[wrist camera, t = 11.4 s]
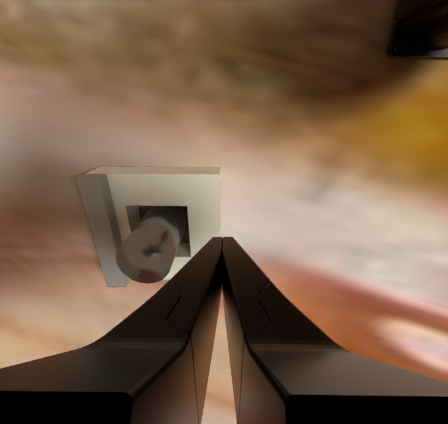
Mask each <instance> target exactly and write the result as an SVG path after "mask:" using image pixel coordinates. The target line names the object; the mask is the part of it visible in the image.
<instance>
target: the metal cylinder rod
mask: <svg viewBox="0 0 448 424" xmlns="http://www.w3.org/2000/svg"><path fill="white" fill-rule="evenodd" d="M186 225H187V216H186V213H185V211H184V210H183V209H182V208H181V207H180V206H152V207H151V208H150V209H149V211H148V212H147V213H146V214H145V216H144V217H143V218H142V219H141V221H140V222H139V223H138V224H137V226H136V227H135V228H134V229H133V231H132V232H131V233H130V234H129V236H128V237H127V238H126V239H125V241H124V242H123V243H122V244H121V246H120V247H119V248H118V250H117V253H116V262H117V265H118V267H119V269H120V270H121V271H122V272H123V273H124V274H125V275H126V276H127V277H129V278H130V279H132V280H134V281H137V282H141V283H155V282H158V281H160V280H162V279H164V278H165V277H166V276H167V275H168V273H169V272H170V269H171V266H172V264H173V261H174V258H175V255H176V253H177V250H178V247H179V244H180V242H181V239H182V236H183V233H184V231H185V228H186Z"/></svg>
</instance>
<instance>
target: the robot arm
mask: <svg viewBox="0 0 448 424" xmlns="http://www.w3.org/2000/svg"><path fill="white" fill-rule="evenodd" d="M394 20H395V23H394V27H393V30H392V34H391V38H390V42H389V46H388V50H387V54H388V56H389V57H391V58H448V0H399V1H398V5H397V8H396V12H395V16H394ZM395 46H398V51H397V52H395ZM221 292H222V293H223V303H224V312H225V321H226V330H227V339H228V348H229V357H230V366H231V375H232V383H233V392H234V401H235V410H236V419H237V424H448V382H447V381H443V380H440V379H436V378H433V377H430V376H427V375H424V374H420V373H417V372H414V371H411V370H408V369H404V368H401V367H398V366H395V365H391V364H388V363H385V362H382V361H379V360H375V359H372V358H369V357H366V356H363V355H359V354H356V353H354V352H351V351H349V350H347V349H345V348H344V347H342V346H340V345H339V344H337V343H336V342H335V341H333V340H332V339H331V338H330V337H329V336H328V335H326V334H325V333H324V332H323V331H322V330H321V329H320V328H319V327H318V326H317V325H315V324H314V323H313V322H312V321H311V320H310V319H309V318H308V317H307V316H305V315H304V314H303V313H302V312H301V311H300V310H299V309H298V308H297V307H296V306H295V305H294V304H292V303H291V302H290V301H289V300H288V299H287V298H286V297H285V296H284V295H283V294H282V293H281V291H280V290H279V289H278V288H277V287H276V286H275V285H274V284H273V283H272V281H270V279H269V278H268V277H267V276H266V275H265V274H264V272H263V271H262V270H261V269H260V268H259V267H258V265H257V264H256V263H255V262H254V261H253V260H252V259H251V257H250V256H249V255H248V254H247V253H246V252H245V251H244V249H243V248H242V247H241V246H240V245H239V244H238V243H237V241H236V240H235V239H234V238H233V237H223V238H222V237H212V238H211V239H210V240H209V241H208V242H207V243H206V244H205V245H204V246H203V247H202V248H201V249H200V250H199V251H198V252H197V253H196V254H195V255H194V256H193V257H192V258H191V259H190V260H189V261H188V262H187V263H186V264H185V265H184V266H183V267H182V268H181V269H180V270H179V271H178V272H177V273H176V274H175V275H174V276H173V277H172V278H171V280H169V281H168V282H167V283H166V284H165V285H164V286H163V287H162V288H161V289H160V290H159V291H158V292H157V293H156V294H154V295H153V296H152V297H151V298H150V299H149V300H147V301H146V302H145V303H144V304H143V305H142V306H140V307H139V308H138V309H137V310H135V311H134V312H133V313H132V314H130V315H129V316H128V317H127V318H125V319H124V320H123V321H122V322H120V323H119V324H118V325H117V326H116V327H114V328H113V329H112V330H111V331H109V332H108V333H107V334H105V335H104V336H103V337H101V338H100V339H98V340H97V341H95V342H93V343H91V344H89V345H87V346H85V347H82V348H79V349H76V350H72V351H68V352H64V353H60V354H56V355H52V356H48V357H44V358H40V359H37V360H33V361H29V362H25V363H21V364H17V365H13V366H9V367H5V368H1V369H0V424H201V420H202V414H203V408H204V401H205V395H206V388H207V382H208V376H209V369H210V363H211V357H212V350H213V344H214V337H215V331H216V325H217V318H218V312H219V306H220V299H221Z"/></svg>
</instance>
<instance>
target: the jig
mask: <svg viewBox="0 0 448 424" xmlns="http://www.w3.org/2000/svg"><path fill="white" fill-rule="evenodd" d="M75 179H76V182H77V185H78V189H79V192H80V196H81V199H82V202H83V206H84V209H85V213H86V216H87V219H88V223H89V226H90V230H91V233H92V236H93V240H94V243H95V247H96V250H97V253H98V257H99V260H100V264H101V267H102V270H103V274H104V277H105V281H106V284H107V287H126V286H127V284H128V282H129V281H130V278H129V277H127V276H126V275H125V274H124V273H123V272H122V271H121V270H120V269H119V267H118V265H117V262H116V253H117V250H118V248H119V247H120V246H121V244H122V243H123V242H124V241H125V239H126V238H127V237H128V236H129V234H130V233H131V232H132V231H133V229H134V228H135V227H136V226H137V224H138V223H139V222H140V221H141V219H140V214H139V208H138V206H187V210H188V223H189V237H190V243H180V244H179V247H178V250H177V253H176V255H175V258H174V261H173V264H172V266H171V269H170V272H169V273H168V275H167V276H166V277H165V278H164V279H171V278H172V277H173V276H174V275H175V274H176V273H177V272H178V271H179V270H180V269H181V268H182V267H183V266H184V265H185V264H186V263H187V262H188V261H189V260H190V259H191V258H192V257H193V256H194V255H195V254H196V253H197V252H198V251H199V250H200V249H201V248H202V247H203V246H204V245H205V244H206V243H207V242H208V241H209V240H210V239H211V238H212V237H221V216H220V167H99V168H97V169H94V170H92V171H90V172H87V173H85V174H83V175H80V176H78V177H76V178H75Z"/></svg>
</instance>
